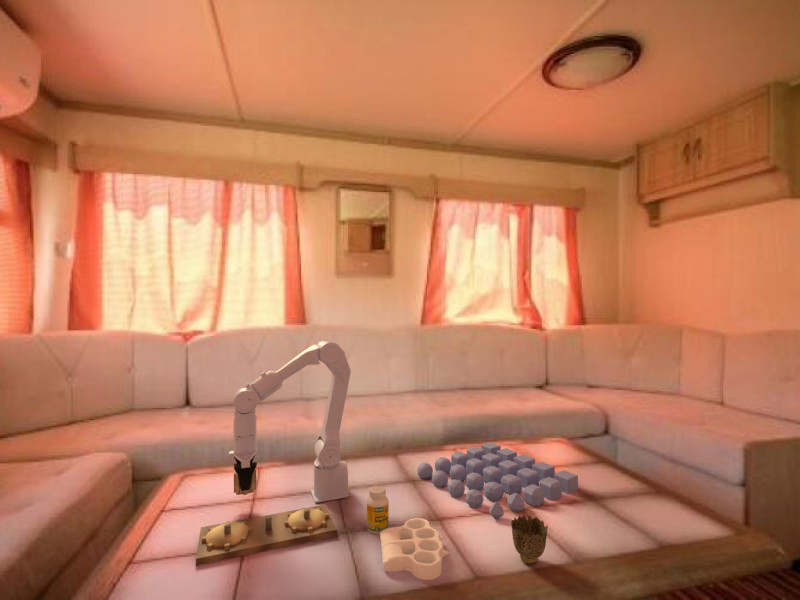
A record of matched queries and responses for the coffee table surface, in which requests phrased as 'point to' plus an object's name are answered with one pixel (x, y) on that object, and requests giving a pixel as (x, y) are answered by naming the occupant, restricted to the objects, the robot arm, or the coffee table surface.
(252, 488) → the maple gear
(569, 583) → the coffee table surface
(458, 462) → the blocks
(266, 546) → the gear board
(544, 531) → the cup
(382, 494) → the supplement bottle
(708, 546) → the coffee table surface
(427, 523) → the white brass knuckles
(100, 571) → the coffee table surface
